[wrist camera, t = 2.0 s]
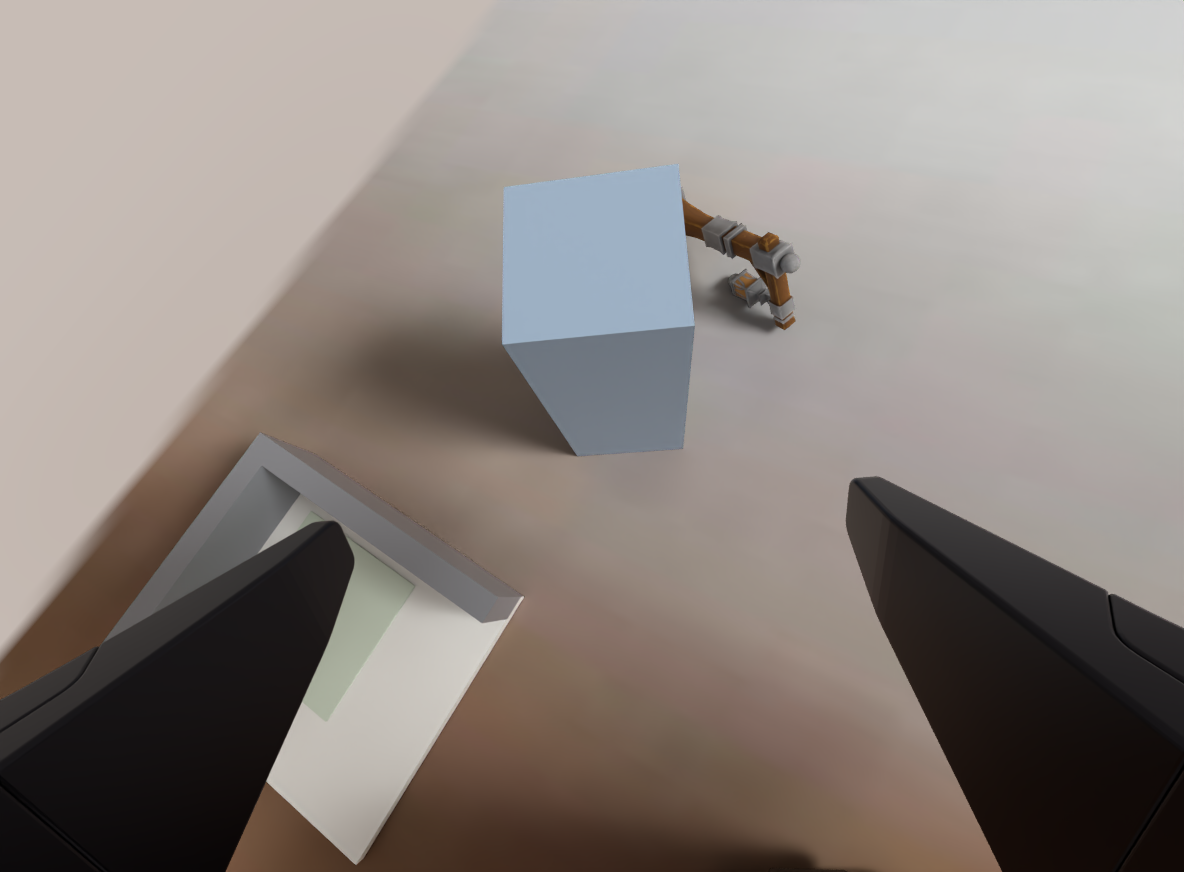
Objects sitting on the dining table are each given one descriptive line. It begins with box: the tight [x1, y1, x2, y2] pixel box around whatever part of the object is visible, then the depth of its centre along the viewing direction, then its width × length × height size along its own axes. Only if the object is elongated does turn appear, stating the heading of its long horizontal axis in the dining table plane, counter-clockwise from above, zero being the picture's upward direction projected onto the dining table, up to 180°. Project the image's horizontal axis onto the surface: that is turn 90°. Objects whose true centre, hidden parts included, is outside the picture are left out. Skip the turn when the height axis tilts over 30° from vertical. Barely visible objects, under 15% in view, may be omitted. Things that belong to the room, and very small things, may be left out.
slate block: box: [502, 164, 695, 456], centre depth 18 cm, size 5×4×11 cm
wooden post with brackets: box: [681, 187, 801, 330], centre depth 23 cm, size 2×8×4 cm, turn 38°
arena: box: [103, 432, 524, 865], centre depth 21 cm, size 12×11×4 cm
